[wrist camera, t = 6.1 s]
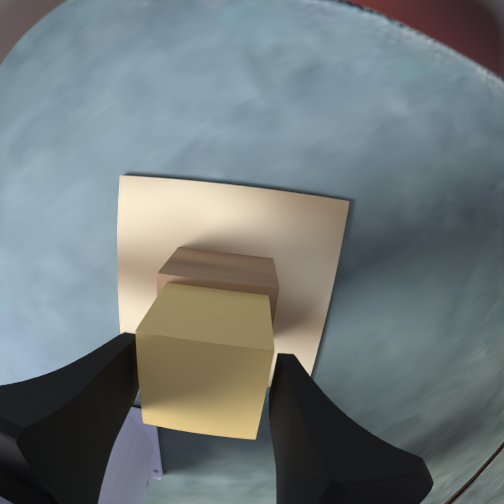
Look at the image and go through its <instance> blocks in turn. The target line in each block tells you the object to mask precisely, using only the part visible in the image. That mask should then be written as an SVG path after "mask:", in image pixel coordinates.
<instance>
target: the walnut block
mask: <svg viewBox="0 0 504 504" xmlns="http://www.w3.org/2000/svg"><path fill="white" fill-rule="evenodd" d="M167 282H168V283H175V284H182V285H190V286H197V287H204V288H212V289H220V290H227V291H235V292H244V293H252V294H260V295H269V302H270V311H271V320H272V329H273V323H274V317H275V312H276V306H277V300H278V294H279V283H278V279H277V274H276V269H275V264H274V259H273V258H266V257H257V256H249V255H240V254H232V253H223V252H215V251H207V250H198V249H190V248H181V247H178V248H177V249H176V250H175V252H174V253H173V254H172V255H171V257H170V258H169V259H168V260H167V262H166V263H165V264H164V265H163V267H162V268H161V269H160V270H159V272H158V273H157V296H158V295H159V293H160V292H161V290H162V289H163V287H164V286H165V284H166V283H167Z"/></svg>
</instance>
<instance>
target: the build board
mask: <svg viewBox="0 0 504 504" xmlns="http://www.w3.org/2000/svg"><path fill="white" fill-rule="evenodd" d="M348 207H349V201H347V200H341V199H335V198H329V197H323V196H316V195H310V194H303V193H296V192H289V191H281V190H274V189H266V188H258V187H250V186H242V185H233V184H224V183H214V182H205V181H194V180H183V179H172V178H159V177H146V176H131V175H120V182H119V199H118V229H117V271H118V301H119V318H120V332H121V334H122V333H124V332H128V333H133V334H136V333H135V330H136V329H137V327H138V326H139V324H140V322H141V321H142V319H143V318H144V316H145V315H146V313H147V312H148V310H149V308H150V307H151V305H152V304H153V302H154V301H155V299H156V298H157V273H158V272H159V270H160V269H161V268H162V267H163V265H164V264H165V263H166V262H167V260H168V259H169V258H170V257H171V255H172V254H173V253H174V252H175V250H176V249H177V248H178V247H181V248H190V249H198V250H207V251H215V252H223V253H232V254H240V255H249V256H257V257H266V258H273V259H274V264H275V269H276V274H277V279H278V283H279V294H278V300H277V306H276V312H275V317H274V323H273V338H274V347H275V351H274V356H273V361H272V366H271V371H270V376H269V381H268V385H267V387H271V383H272V378H273V373H274V368H275V363H276V359H277V354H278V353H287V354H294V355H295V356H296V357H297V359H298V360H299V361H300V363H301V364H302V366H303V367H304V368H305V370H306V371H307V373H308V374H309V375H310V376H311V372H312V369H313V365H314V362H315V358H316V354H317V350H318V347H319V343H320V339H321V335H322V331H323V327H324V323H325V319H326V315H327V311H328V306H329V302H330V298H331V293H332V289H333V284H334V280H335V275H336V270H337V266H338V261H339V256H340V251H341V246H342V241H343V235H344V230H345V225H346V219H347V213H348Z"/></svg>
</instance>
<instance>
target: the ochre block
mask: <svg viewBox="0 0 504 504" xmlns="http://www.w3.org/2000/svg"><path fill="white" fill-rule="evenodd" d="M135 333H136V352H137V366H138V379H139V390H140V400H141V409H142V417H143V423H145V424H150V425H155V426H159V427H165V428H170V429H175V430H181V431H187V432H193V433H200V434H207V435H215V436H223V437H232V438H243V439H256V435H257V431H258V426H259V422H260V418H261V413H262V408H263V404H264V399H265V395H266V390H267V385H268V381H269V376H270V371H271V366H272V361H273V356H274V351H275V347H274V338H273V329H272V320H271V311H270V302H269V295H260V294H252V293H244V292H235V291H227V290H220V289H212V288H204V287H197V286H190V285H182V284H175V283H168V282H167V283H166V284H165V286H164V287H163V289H162V290H161V292H160V293H159V295H158V296H157V298H156V299H155V301H154V302H153V304H152V305H151V307H150V308H149V310H148V312H147V313H146V315H145V316H144V318H143V319H142V321H141V322H140V324H139V326H138V327H137V329H136V330H135Z"/></svg>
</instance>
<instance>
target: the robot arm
mask: <svg viewBox="0 0 504 504" xmlns="http://www.w3.org/2000/svg"><path fill="white" fill-rule="evenodd" d="M138 389H139V379H138V366H137V352H136V334H133V333H128V332H124V333H122V334H120V335H118V336H117V337H115V338H113V339H112V340H110V341H109V342H107V343H106V344H104V345H102V346H101V347H99V348H97V349H96V350H94V351H93V352H91V353H89V354H88V355H86V356H84V357H82V358H80V359H78V360H76V361H75V362H73V363H71V364H69V365H67V366H65V367H62V368H60V369H58V370H55V371H53V372H51V373H48V374H45V375H42V376H39V377H36V378H32V379H29V380H26V381H22V382H17V383H13V384H7V385H1V386H0V504H144V503H145V500H146V496H147V492H148V488H149V485H150V481H151V478H155V479H162V477H163V471H162V464H161V456H160V448H159V439H158V430H157V426H155V425H150V424H145V423H143V417H142V409H140V408H135V407H132V405H133V403H134V400H135V398H136V395H137V392H138ZM269 419H270V427H271V434H272V441H273V449H274V456H275V463H276V488H277V504H420V503H421V502H422V501H423V499H424V498H425V497H426V496H427V495H428V494H429V492H430V491H431V489H432V486H433V480H432V477H431V475H430V473H429V470H428V468H427V466H426V464H425V462H424V461H423V459H422V458H421V457H418V456H416V455H413V454H411V453H408V452H406V451H403V450H401V449H399V448H396V447H394V446H392V445H391V444H389V443H387V442H385V441H383V440H381V439H379V438H378V437H376V436H374V435H373V434H371V433H370V432H368V431H367V430H365V429H364V428H362V427H361V426H360V425H358V424H357V423H356V422H354V421H353V420H352V419H350V418H349V417H348V416H347V415H346V414H345V413H343V412H342V411H341V410H340V409H339V408H338V407H337V406H336V405H335V404H334V403H333V402H332V401H331V400H330V399H329V398H328V397H327V396H326V395H325V394H324V393H323V391H322V390H321V389H320V388H319V387H318V385H317V384H316V383H315V382H314V380H313V379H312V378H311V377H310V375H309V374H308V373H307V371H306V370H305V368H304V367H303V366H302V364H301V363H300V361H299V360H298V359H297V357H296V356H295V355H294V354H287V353H278V354H277V359H276V363H275V368H274V373H273V378H272V383H271V388H270V392H269Z"/></svg>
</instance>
